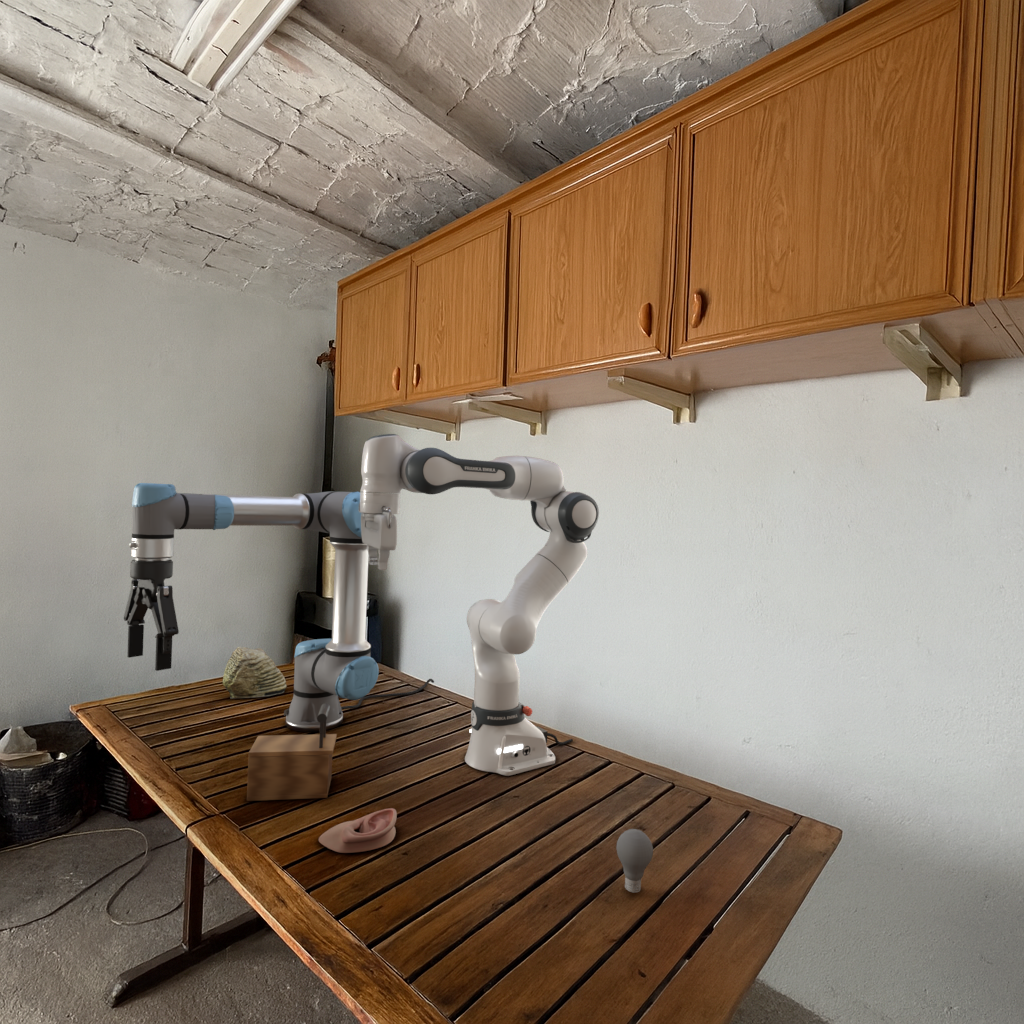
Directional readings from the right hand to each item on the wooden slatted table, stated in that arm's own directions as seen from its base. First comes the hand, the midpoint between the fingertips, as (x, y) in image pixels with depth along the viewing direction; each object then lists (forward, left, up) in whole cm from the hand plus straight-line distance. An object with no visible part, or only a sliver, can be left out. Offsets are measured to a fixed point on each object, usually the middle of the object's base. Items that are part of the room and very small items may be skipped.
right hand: (377, 567), depth 143 cm
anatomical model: (+7, +25, -48) cm, 54 cm away
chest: (+17, 0, -48) cm, 51 cm away
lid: (+16, 0, -39) cm, 42 cm away
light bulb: (-32, +56, -48) cm, 81 cm away
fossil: (+21, -70, -48) cm, 87 cm away
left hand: (+45, -5, -20) cm, 49 cm away
